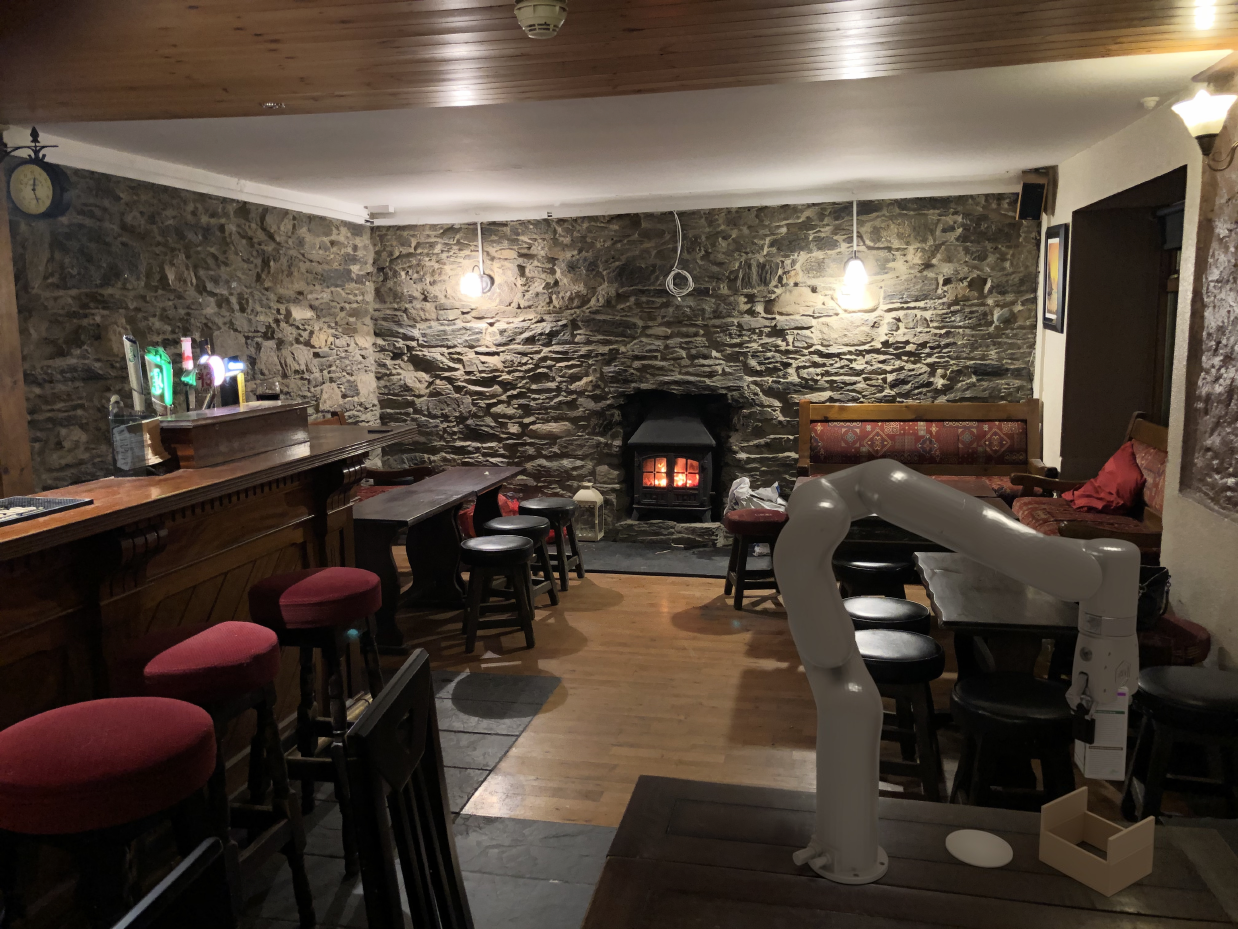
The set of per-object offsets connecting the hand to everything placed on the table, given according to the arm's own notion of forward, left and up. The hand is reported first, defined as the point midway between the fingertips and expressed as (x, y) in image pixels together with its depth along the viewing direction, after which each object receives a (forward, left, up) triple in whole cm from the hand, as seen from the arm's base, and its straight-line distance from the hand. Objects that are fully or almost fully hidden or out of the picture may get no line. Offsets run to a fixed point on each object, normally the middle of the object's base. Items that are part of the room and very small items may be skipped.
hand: (1100, 733), depth 134 cm
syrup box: (0, 0, -6) cm, 6 cm away
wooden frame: (0, 0, -22) cm, 22 cm away
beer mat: (-11, +12, -22) cm, 27 cm away
